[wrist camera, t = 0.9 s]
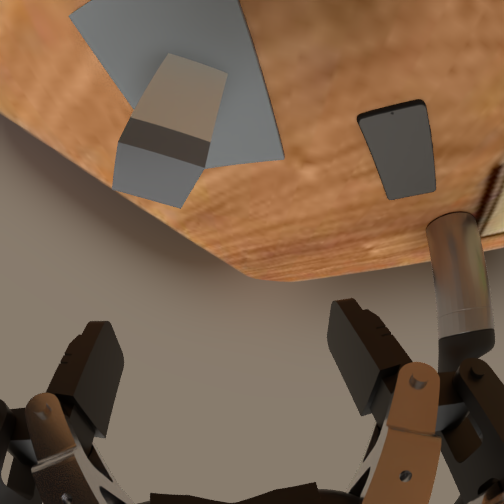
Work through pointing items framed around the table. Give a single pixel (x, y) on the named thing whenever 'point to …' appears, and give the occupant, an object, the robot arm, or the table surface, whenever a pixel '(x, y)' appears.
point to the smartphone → (401, 148)
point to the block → (169, 132)
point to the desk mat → (193, 48)
